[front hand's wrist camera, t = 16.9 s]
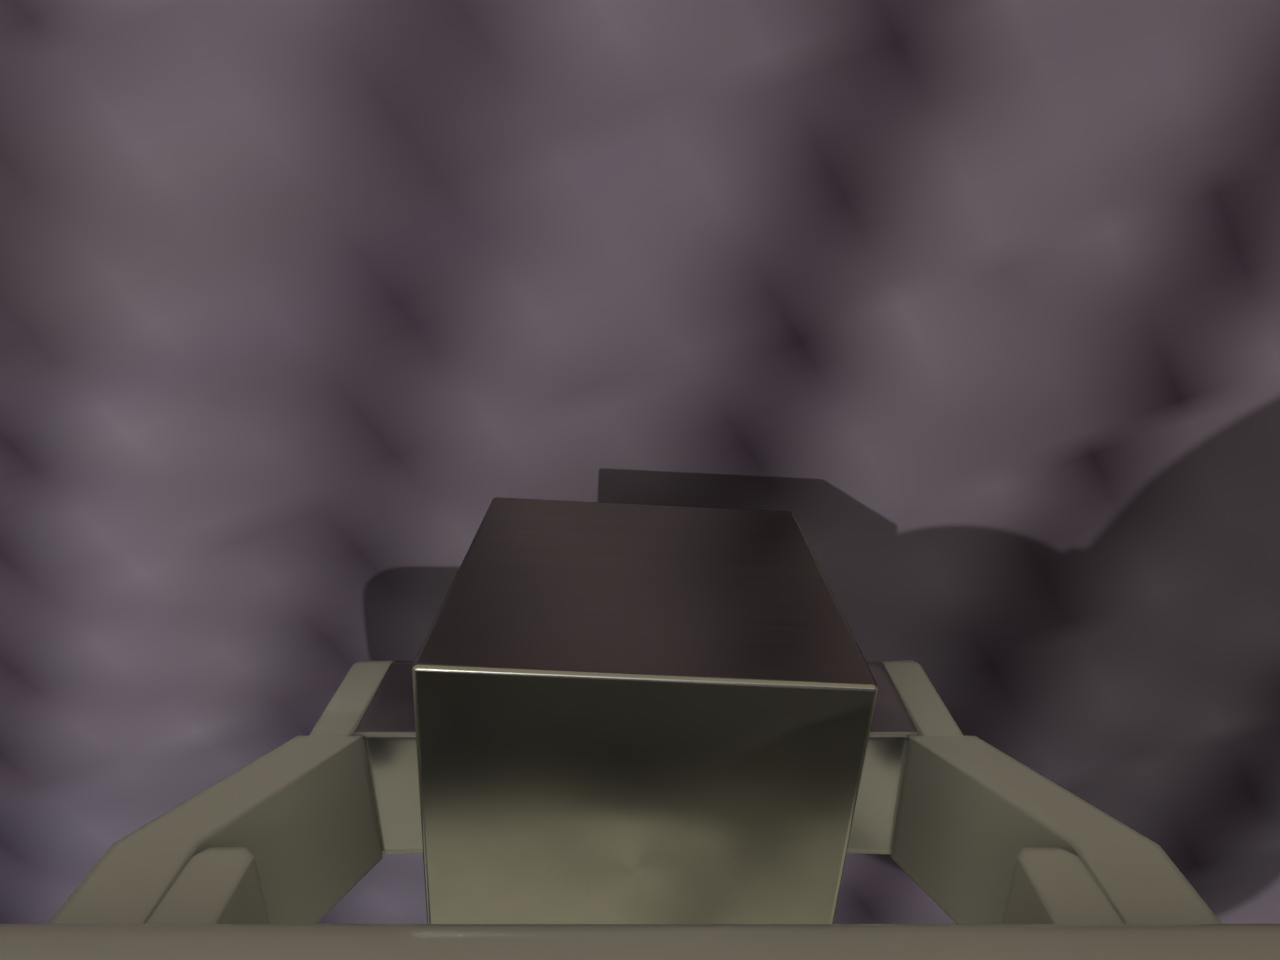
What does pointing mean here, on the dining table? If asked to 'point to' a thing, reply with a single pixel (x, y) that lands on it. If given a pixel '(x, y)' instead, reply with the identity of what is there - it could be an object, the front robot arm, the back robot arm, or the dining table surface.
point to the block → (638, 721)
